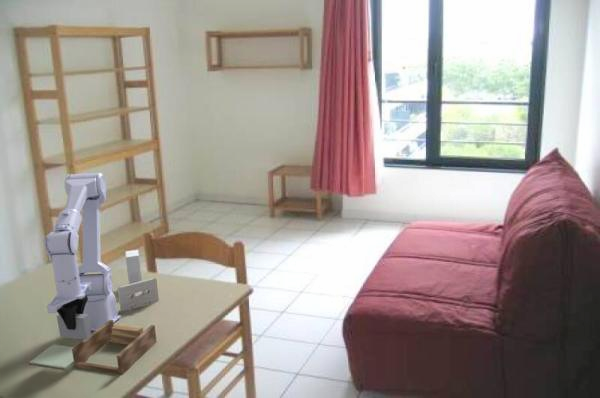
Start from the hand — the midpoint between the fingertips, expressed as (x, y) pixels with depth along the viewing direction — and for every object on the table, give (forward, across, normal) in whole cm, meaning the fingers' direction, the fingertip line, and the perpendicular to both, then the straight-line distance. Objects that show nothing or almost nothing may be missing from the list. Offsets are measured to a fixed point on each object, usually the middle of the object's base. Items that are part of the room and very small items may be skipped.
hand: (74, 326), depth 149 cm
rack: (+9, +4, -9) cm, 13 cm away
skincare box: (+9, +43, +10) cm, 45 cm away
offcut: (+9, +10, -8) cm, 16 cm away
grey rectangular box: (+3, 0, 0) cm, 3 cm away
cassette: (+9, +31, +1) cm, 32 cm away
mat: (+9, -1, +5) cm, 10 cm away
